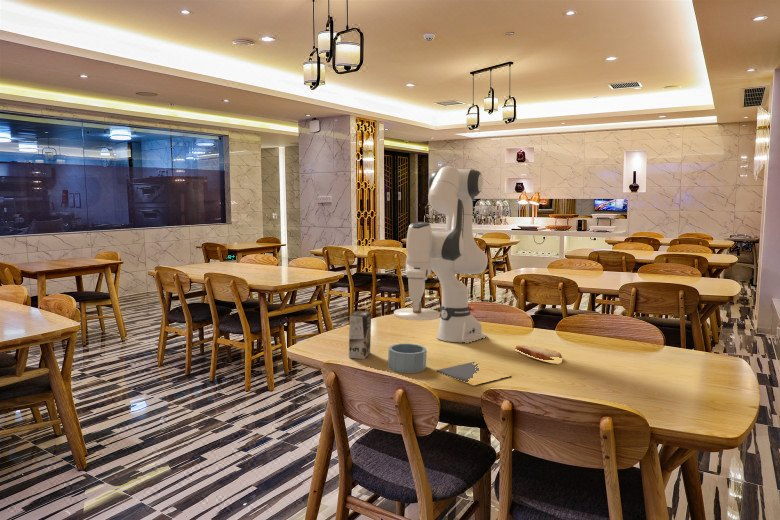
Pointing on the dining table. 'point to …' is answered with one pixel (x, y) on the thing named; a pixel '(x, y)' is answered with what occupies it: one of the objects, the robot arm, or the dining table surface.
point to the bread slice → (538, 352)
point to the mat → (461, 371)
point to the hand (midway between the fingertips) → (417, 309)
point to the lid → (417, 313)
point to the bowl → (407, 358)
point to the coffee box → (360, 334)
